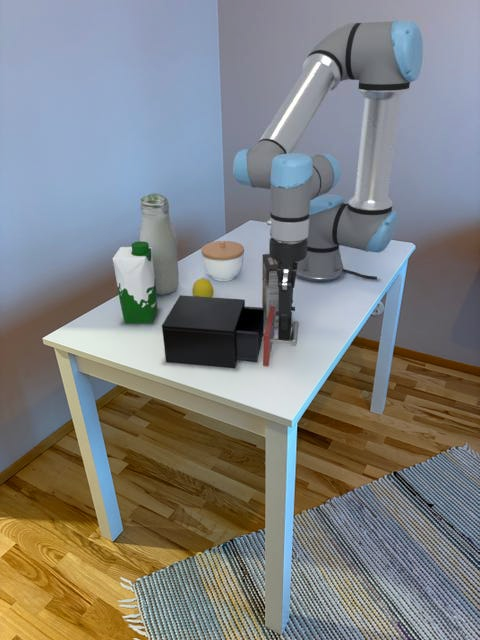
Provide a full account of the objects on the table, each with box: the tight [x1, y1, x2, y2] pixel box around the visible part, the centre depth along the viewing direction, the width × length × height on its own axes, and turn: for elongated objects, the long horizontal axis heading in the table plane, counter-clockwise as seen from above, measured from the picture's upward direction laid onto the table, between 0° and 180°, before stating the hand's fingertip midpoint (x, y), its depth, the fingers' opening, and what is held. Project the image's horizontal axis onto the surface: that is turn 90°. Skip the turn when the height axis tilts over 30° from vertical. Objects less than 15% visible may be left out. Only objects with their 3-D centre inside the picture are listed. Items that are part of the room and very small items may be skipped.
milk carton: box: [112, 240, 158, 324], centre depth 116 cm, size 9×9×20 cm
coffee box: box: [261, 253, 279, 328], centre depth 115 cm, size 9×6×16 cm
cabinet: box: [161, 294, 246, 369], centre depth 105 cm, size 16×14×10 cm
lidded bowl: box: [200, 240, 245, 282], centre depth 139 cm, size 13×13×11 cm
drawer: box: [235, 305, 300, 367], centre depth 104 cm, size 20×13×8 cm, turn 81°
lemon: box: [192, 277, 214, 298], centre depth 124 cm, size 6×6×8 cm
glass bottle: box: [138, 193, 180, 296], centre depth 126 cm, size 10×10×28 cm
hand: (284, 338), depth 103 cm, fingers closed
